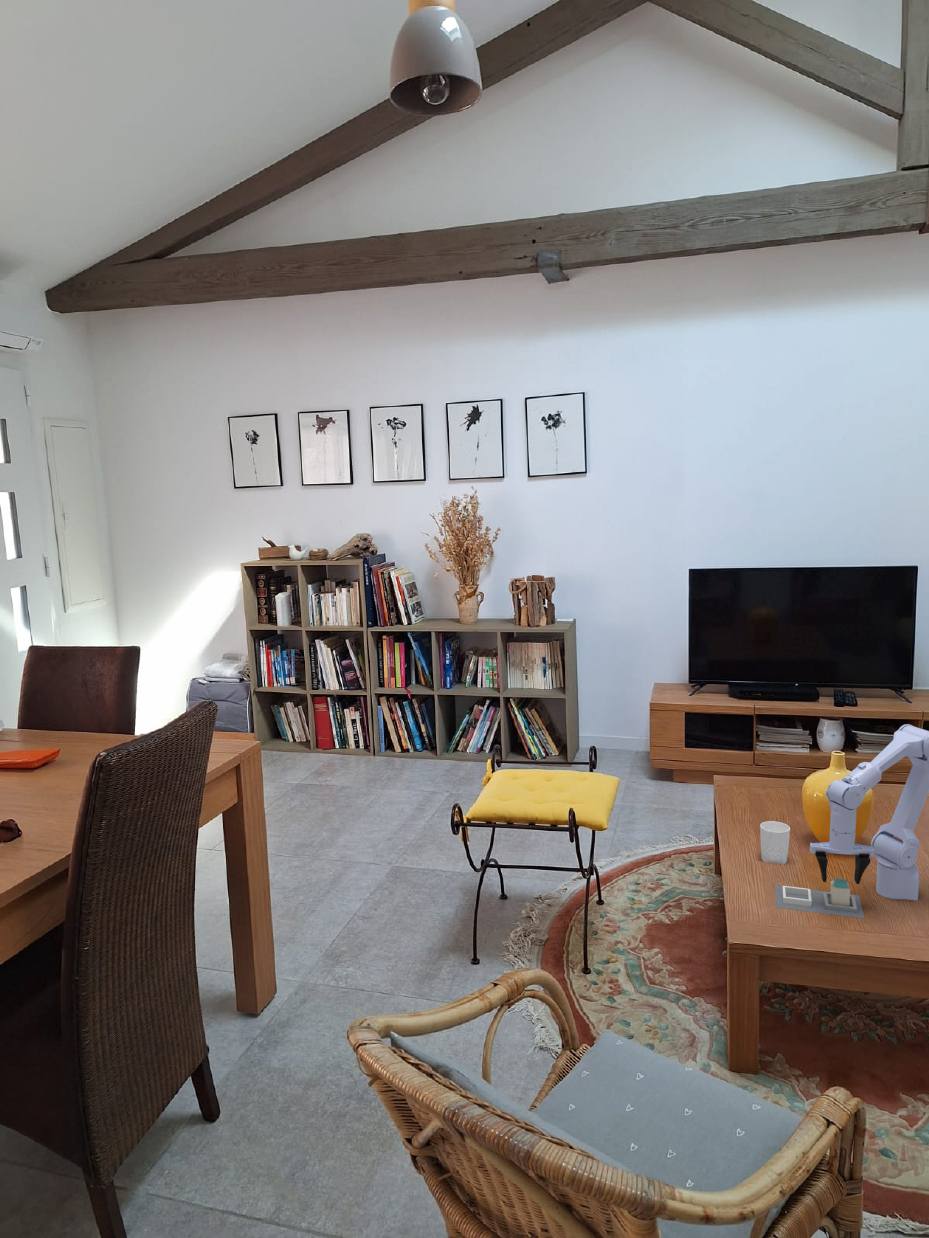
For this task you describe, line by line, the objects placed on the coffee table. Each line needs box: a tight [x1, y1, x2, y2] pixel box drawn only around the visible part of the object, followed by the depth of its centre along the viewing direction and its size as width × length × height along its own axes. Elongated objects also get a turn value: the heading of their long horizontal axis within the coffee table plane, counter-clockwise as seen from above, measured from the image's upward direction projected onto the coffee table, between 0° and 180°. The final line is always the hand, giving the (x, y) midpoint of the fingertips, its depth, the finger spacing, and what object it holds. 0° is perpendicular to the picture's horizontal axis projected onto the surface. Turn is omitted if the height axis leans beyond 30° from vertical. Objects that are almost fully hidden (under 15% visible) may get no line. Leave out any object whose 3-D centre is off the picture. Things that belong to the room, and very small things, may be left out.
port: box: [782, 885, 812, 907], centre depth 213 cm, size 7×7×2 cm
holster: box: [823, 891, 857, 913], centre depth 210 cm, size 7×7×1 cm
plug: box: [830, 877, 851, 906], centre depth 210 cm, size 4×4×6 cm
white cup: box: [759, 820, 791, 865], centre depth 237 cm, size 8×8×10 cm
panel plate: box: [774, 885, 865, 919], centre depth 212 cm, size 20×12×1 cm, turn 71°
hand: (840, 881), depth 209 cm, fingers open, 7 cm apart
